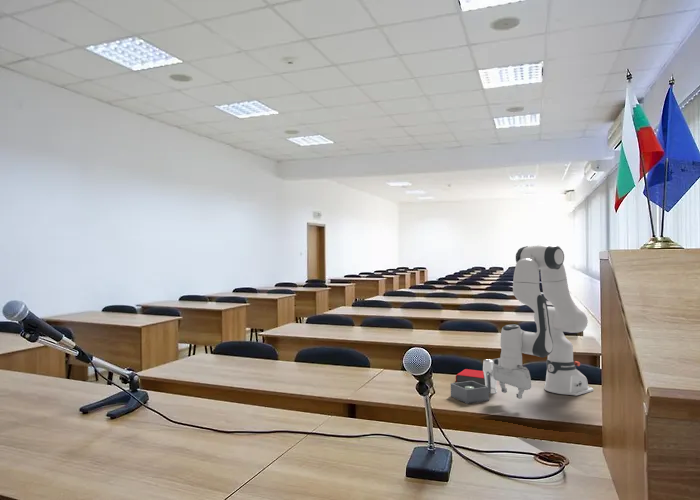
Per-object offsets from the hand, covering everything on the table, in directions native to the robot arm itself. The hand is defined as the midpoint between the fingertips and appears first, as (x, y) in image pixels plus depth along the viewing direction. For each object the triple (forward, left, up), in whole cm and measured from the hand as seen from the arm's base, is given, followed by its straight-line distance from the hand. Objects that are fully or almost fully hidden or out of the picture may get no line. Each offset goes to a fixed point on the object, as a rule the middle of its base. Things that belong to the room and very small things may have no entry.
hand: (511, 395), depth 205 cm
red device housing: (-10, -37, -5) cm, 39 cm away
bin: (+10, -16, -5) cm, 19 cm away
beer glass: (-5, -20, -5) cm, 21 cm away
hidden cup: (+10, -16, -4) cm, 19 cm away
